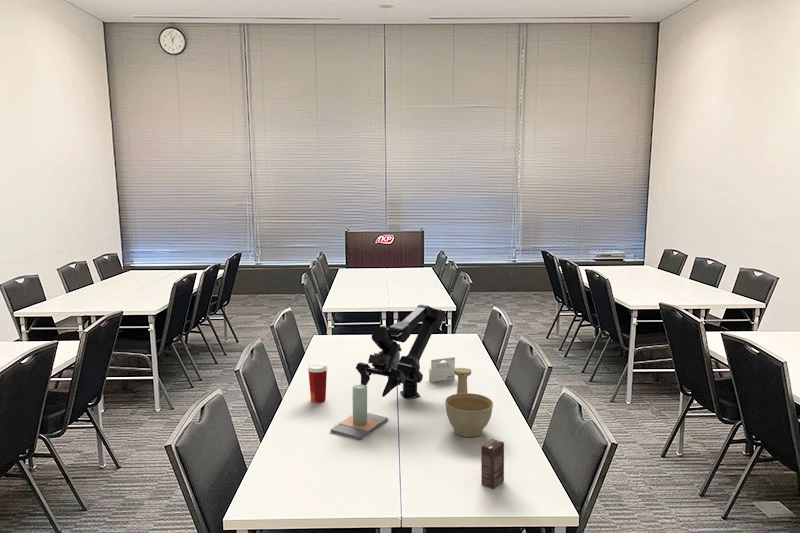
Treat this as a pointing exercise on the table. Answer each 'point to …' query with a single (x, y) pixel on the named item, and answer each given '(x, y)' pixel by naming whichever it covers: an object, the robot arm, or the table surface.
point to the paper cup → (317, 382)
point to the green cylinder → (360, 405)
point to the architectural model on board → (394, 360)
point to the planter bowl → (468, 413)
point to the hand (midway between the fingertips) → (372, 393)
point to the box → (492, 463)
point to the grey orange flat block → (359, 431)
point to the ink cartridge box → (442, 369)
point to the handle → (462, 379)
